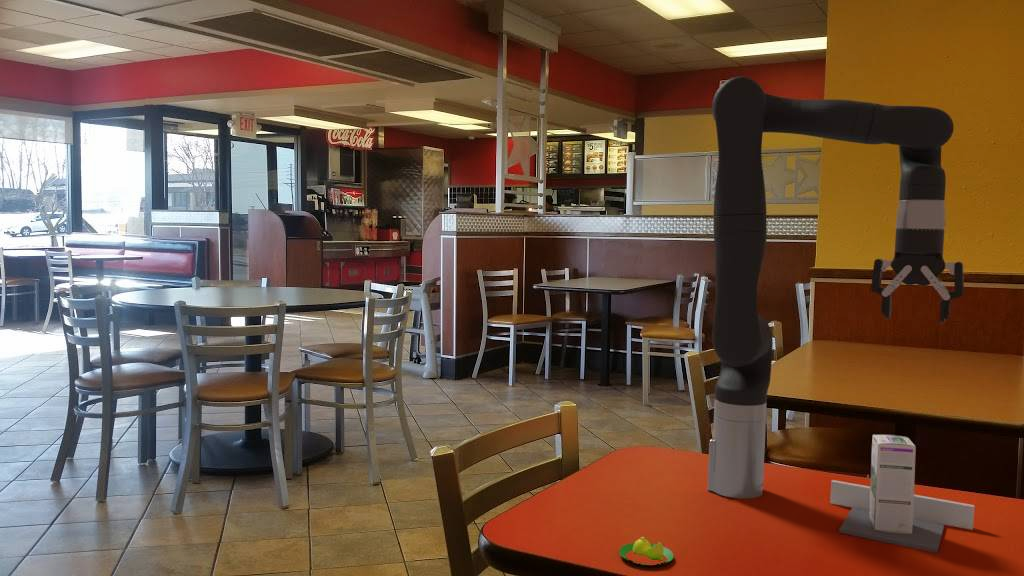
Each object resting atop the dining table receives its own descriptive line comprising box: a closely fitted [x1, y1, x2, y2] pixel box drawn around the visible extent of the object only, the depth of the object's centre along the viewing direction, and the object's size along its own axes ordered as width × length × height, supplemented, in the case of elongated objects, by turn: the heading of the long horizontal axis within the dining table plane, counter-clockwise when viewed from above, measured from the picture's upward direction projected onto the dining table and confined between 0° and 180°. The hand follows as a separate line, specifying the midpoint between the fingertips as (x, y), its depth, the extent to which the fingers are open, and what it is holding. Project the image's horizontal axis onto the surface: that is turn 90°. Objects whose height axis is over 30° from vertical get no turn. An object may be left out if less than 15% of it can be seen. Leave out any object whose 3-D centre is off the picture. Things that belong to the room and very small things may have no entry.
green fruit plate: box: [618, 536, 674, 567], centre depth 118 cm, size 8×8×3 cm
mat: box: [838, 507, 945, 554], centre depth 129 cm, size 14×12×1 cm
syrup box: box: [869, 434, 917, 534], centre depth 129 cm, size 6×6×14 cm
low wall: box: [829, 479, 975, 531], centre depth 136 cm, size 22×1×4 cm, turn 57°
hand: (914, 319), depth 139 cm, fingers open, 8 cm apart
